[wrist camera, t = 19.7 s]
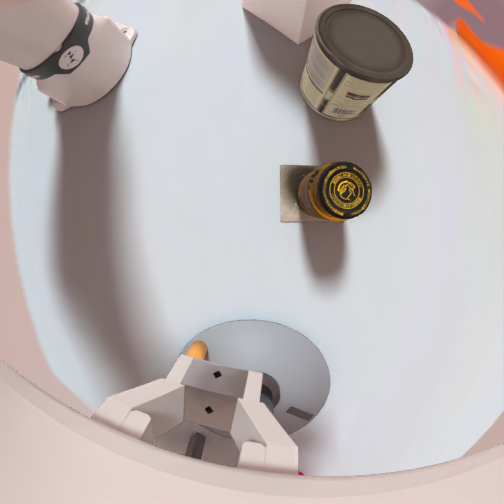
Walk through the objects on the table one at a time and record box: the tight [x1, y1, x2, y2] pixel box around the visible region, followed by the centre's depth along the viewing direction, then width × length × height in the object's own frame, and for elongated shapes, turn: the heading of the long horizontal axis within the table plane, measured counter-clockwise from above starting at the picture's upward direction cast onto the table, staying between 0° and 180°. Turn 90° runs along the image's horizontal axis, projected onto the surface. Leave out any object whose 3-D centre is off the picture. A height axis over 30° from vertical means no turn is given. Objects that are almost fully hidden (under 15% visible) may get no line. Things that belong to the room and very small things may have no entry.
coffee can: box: [300, 4, 413, 121], centre depth 25 cm, size 10×10×14 cm
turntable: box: [178, 320, 330, 439], centre depth 35 cm, size 24×24×6 cm
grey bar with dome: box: [185, 433, 206, 459], centre depth 37 cm, size 4×3×10 cm
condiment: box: [280, 161, 372, 222], centre depth 29 cm, size 7×8×12 cm
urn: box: [257, 371, 280, 416], centre depth 32 cm, size 8×8×10 cm
